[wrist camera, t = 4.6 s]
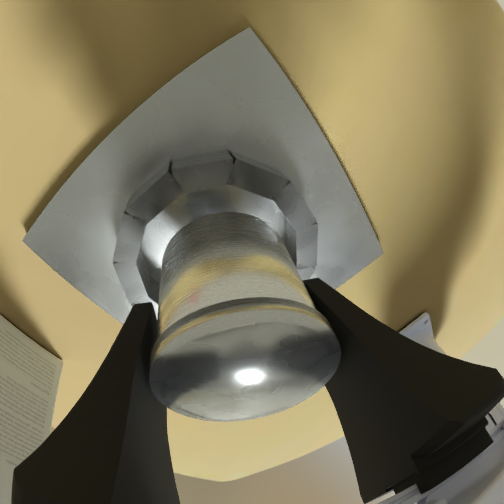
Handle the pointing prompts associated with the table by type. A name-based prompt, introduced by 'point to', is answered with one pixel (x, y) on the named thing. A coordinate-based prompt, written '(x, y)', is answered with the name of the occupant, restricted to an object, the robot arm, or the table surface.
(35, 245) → the flange plate
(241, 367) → the round metal knob
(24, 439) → the skincare box
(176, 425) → the table surface
